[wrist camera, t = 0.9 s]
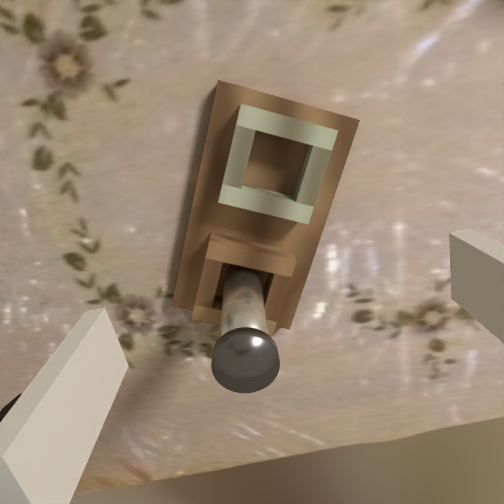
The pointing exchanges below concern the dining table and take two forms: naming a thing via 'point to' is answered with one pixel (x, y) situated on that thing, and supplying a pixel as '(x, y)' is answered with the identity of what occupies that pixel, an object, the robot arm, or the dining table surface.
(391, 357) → the dining table surface
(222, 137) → the socket board
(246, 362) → the lock pin
